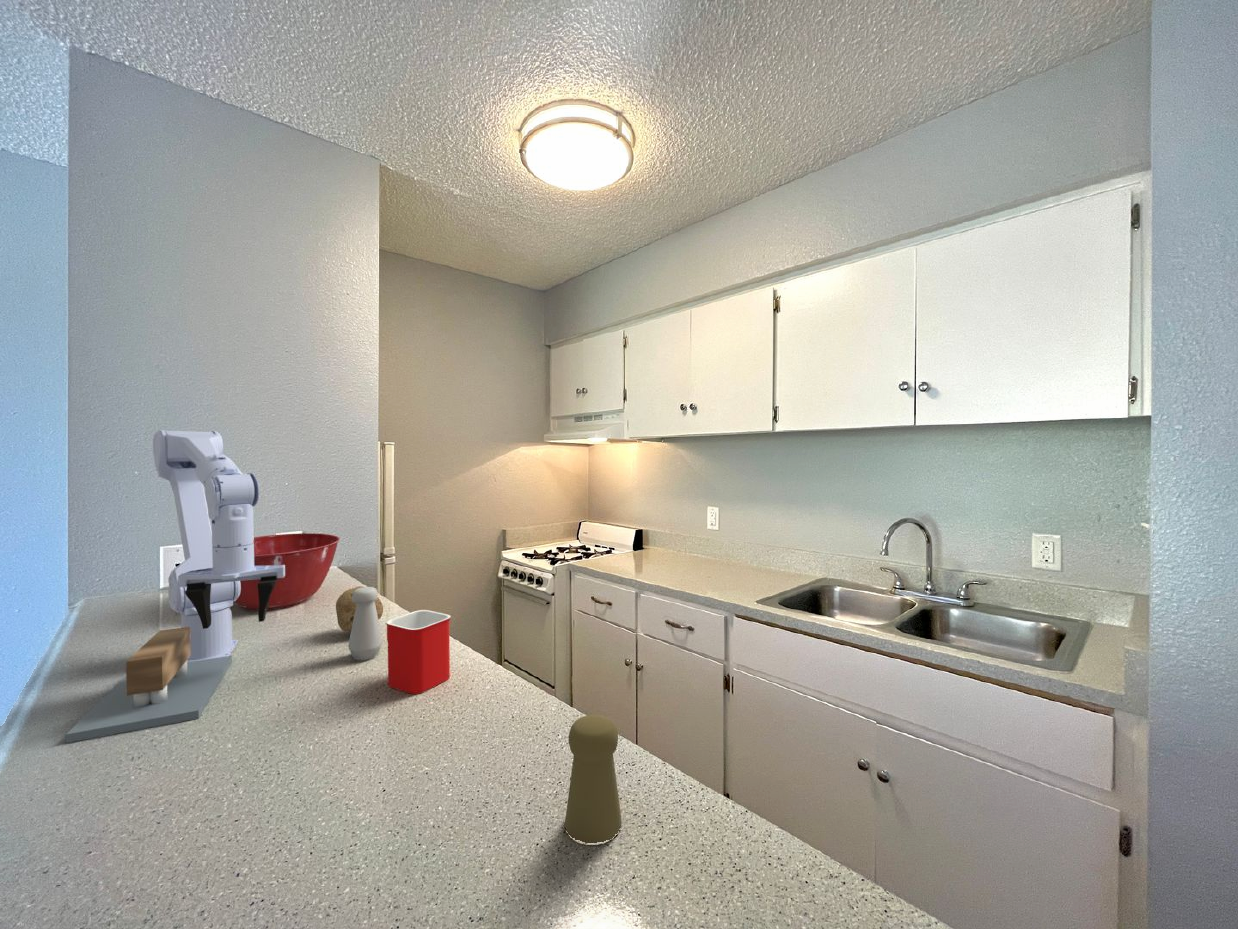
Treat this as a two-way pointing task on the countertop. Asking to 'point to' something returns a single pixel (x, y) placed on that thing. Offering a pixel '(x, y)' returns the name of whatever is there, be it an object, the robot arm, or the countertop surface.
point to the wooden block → (158, 661)
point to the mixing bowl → (290, 567)
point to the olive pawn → (593, 781)
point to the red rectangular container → (418, 651)
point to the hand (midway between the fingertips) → (235, 623)
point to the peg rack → (154, 702)
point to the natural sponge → (351, 609)
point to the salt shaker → (365, 625)
